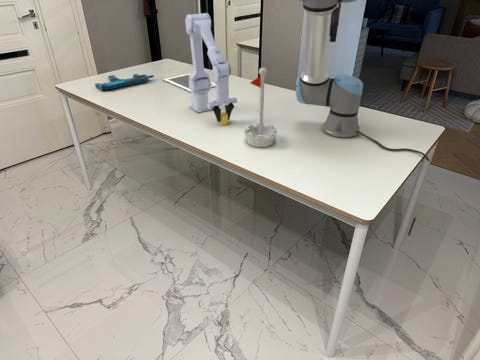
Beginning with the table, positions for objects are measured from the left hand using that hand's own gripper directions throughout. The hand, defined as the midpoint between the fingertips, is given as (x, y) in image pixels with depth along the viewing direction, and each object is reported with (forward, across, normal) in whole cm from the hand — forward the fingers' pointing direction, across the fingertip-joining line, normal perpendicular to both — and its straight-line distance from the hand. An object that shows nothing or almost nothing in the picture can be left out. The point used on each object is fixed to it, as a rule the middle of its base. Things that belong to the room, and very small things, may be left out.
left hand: (223, 120), depth 156 cm
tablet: (+1, +15, +64) cm, 65 cm away
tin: (+1, 0, 0) cm, 1 cm away
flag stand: (+1, +3, -25) cm, 25 cm away
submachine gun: (+1, -19, +87) cm, 89 cm away
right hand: (-29, +61, -3) cm, 68 cm away
